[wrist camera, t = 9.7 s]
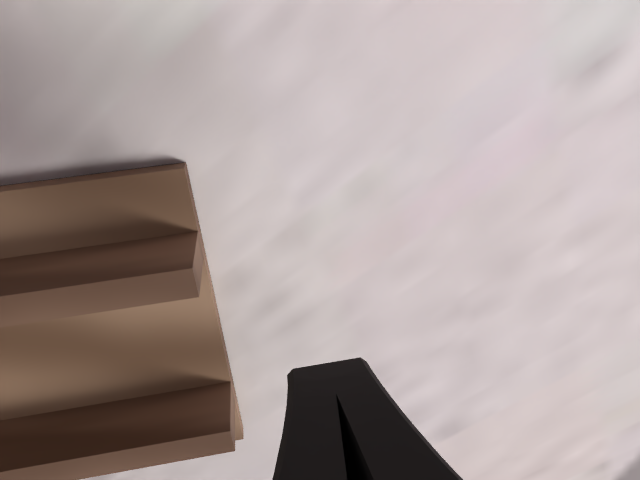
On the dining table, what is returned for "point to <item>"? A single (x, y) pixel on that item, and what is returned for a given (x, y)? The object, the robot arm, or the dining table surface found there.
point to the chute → (108, 328)
